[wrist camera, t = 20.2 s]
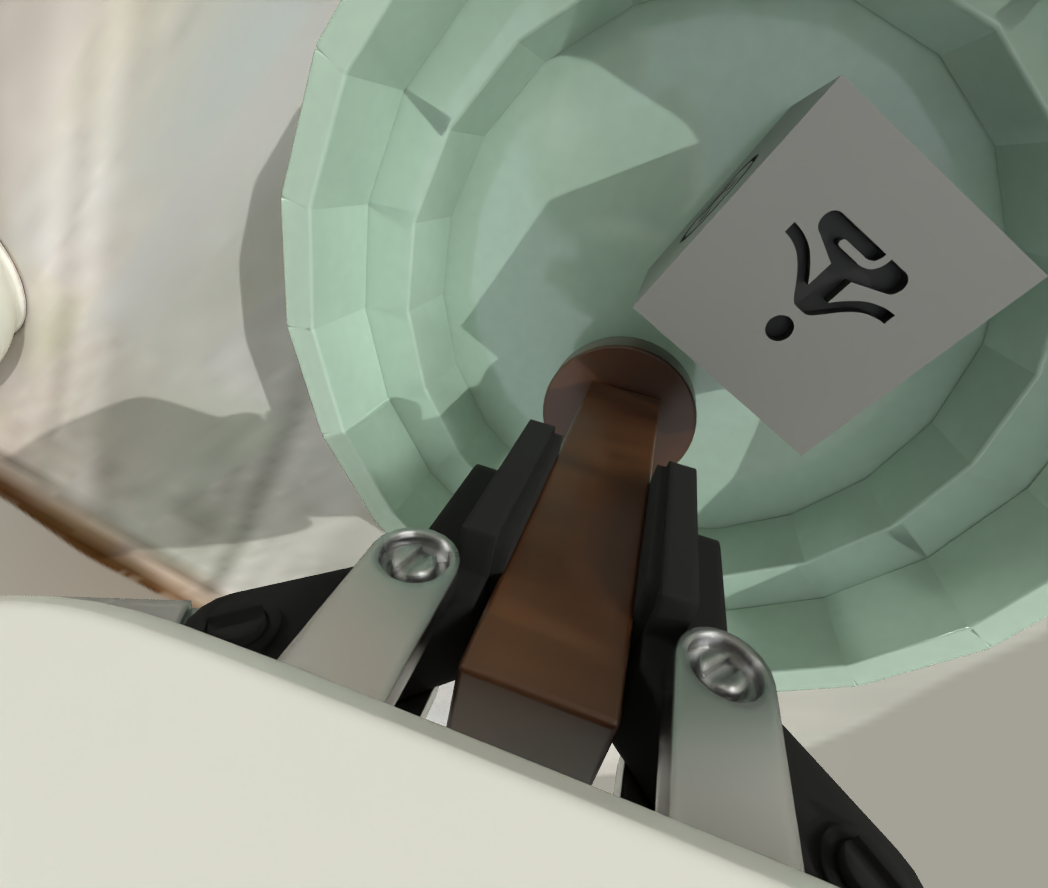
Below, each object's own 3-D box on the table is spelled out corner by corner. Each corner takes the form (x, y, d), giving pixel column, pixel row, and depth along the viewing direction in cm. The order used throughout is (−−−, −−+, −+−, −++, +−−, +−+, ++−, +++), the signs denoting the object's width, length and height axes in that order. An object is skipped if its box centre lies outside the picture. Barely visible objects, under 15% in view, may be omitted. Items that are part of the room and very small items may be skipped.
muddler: (537, 446, 17) (357, 771, 8) (567, 318, 15) (368, 557, 6) (668, 486, 17) (641, 892, 7) (719, 359, 15) (775, 703, 5)
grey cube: (933, 242, 13) (1048, 276, 9) (771, 379, 16) (801, 455, 12) (790, 106, 13) (841, 74, 9) (648, 269, 15) (632, 307, 11)
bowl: (385, 473, 23) (297, 561, 18) (422, -174, 13) (249, -397, 8) (854, 625, 20) (911, 783, 15) (1355, -62, 10) (2040, -299, 5)
